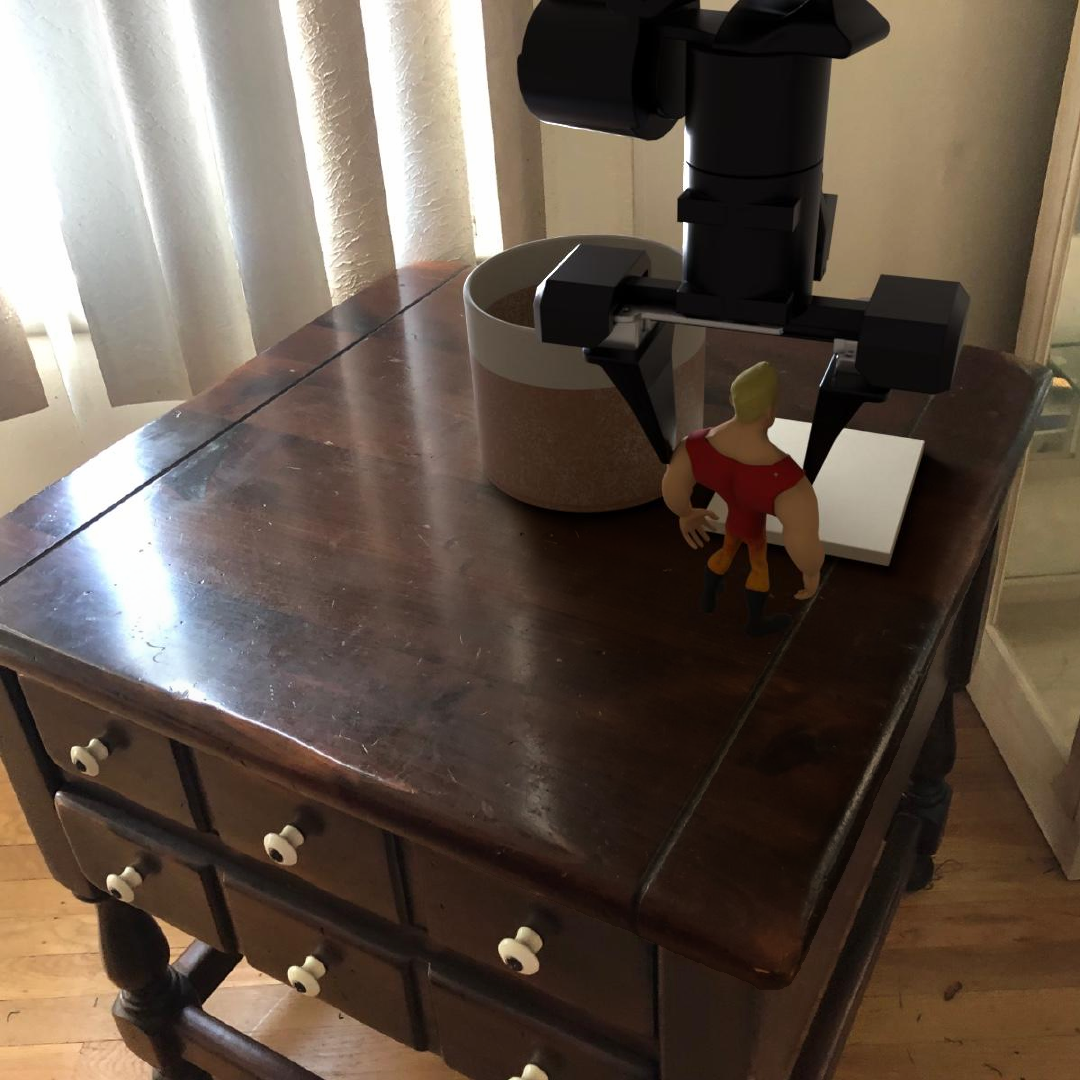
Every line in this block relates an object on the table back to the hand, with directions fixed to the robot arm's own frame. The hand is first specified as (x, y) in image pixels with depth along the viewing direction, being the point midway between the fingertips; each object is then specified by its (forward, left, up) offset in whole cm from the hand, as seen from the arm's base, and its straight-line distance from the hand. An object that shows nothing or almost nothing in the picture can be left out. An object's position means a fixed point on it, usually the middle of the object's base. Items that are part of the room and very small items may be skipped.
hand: (737, 471), depth 57 cm
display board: (-1, -19, -13) cm, 23 cm away
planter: (+15, -18, -13) cm, 27 cm away
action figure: (-1, 0, -9) cm, 9 cm away
